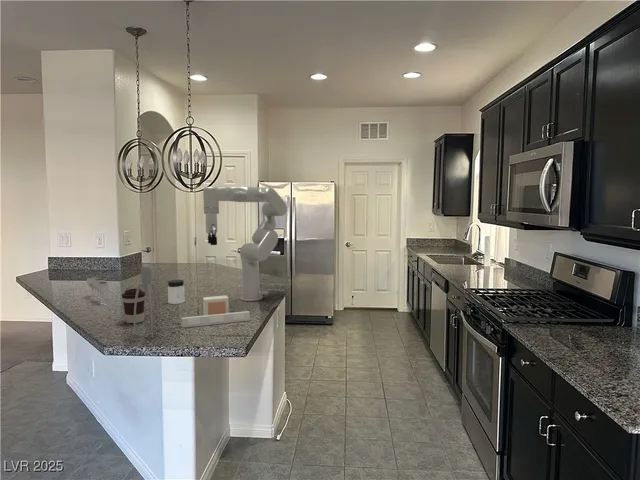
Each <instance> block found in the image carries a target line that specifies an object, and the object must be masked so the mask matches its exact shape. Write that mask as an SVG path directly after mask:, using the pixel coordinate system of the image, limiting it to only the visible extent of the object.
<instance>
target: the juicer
mask: <svg viewBox="0 0 640 480" xmlns="http://www.w3.org/2000/svg"><path fill="white" fill-rule="evenodd" d="M140 277H141V278H140V279H141V280H140V281H141V282H138V284H137V288H136V289H137V291H136V296H135V304H134V323H133V333H134V335H135V336H136V335H137V330H136V329H137V323H136V305H137V298H138V294H139V290H140V289H143V292H145V296H146V297H147V299H148V306H149V307H148V308H149V315H150V317H149V318H150V327H151V328H150V329H151V338H152V339H153V338H154V330H153V329H154V327H153V326H154V325H153V323H154V322H153V304H152V302H153V301H152V292H153V295H154V298H155V306H156V311H157V312H156V314H157V322H158V331H159V332H160V331H161V324H160V323H161V322H160V321H161V320H160V310H159V309H160V308H159V301H158V295H157V290H156V287H155V283H154V281H152V277H153V274H152V267H151V266H150V265H149V264H148V263H144V264H143V265H141V268H140ZM151 289H152V290H151Z"/></svg>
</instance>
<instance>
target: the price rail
mask: <svg viewBox="0 0 640 480" xmlns="http://www.w3.org/2000/svg"><path fill="white" fill-rule="evenodd" d="M250 315H251V313H250V311H249V310H248V311H247V310H246V311H244V310H243V311H237V312H236V311H235V312H229V313H224V314H214V315H204V314H203V315H197V316H187V317H186V316H185V317H181V328H182V329H183V328H192V327H203V326H210V325H221V324H228V323H231V324H232V323H239V322H246V321H247V322H248V321H250V320H251V319H250V318H251V316H250Z"/></svg>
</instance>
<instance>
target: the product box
mask: <svg viewBox="0 0 640 480" xmlns="http://www.w3.org/2000/svg"><path fill="white" fill-rule="evenodd" d="M202 300H203V301H202V304H203V306H202V307H203V308H202V309H203V316H204V315H214V314H224V313H230V310H229V309H230V307H229V303H230V302H229V296H228V295H226V294H225V295H215V296H205V297H202Z"/></svg>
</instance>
